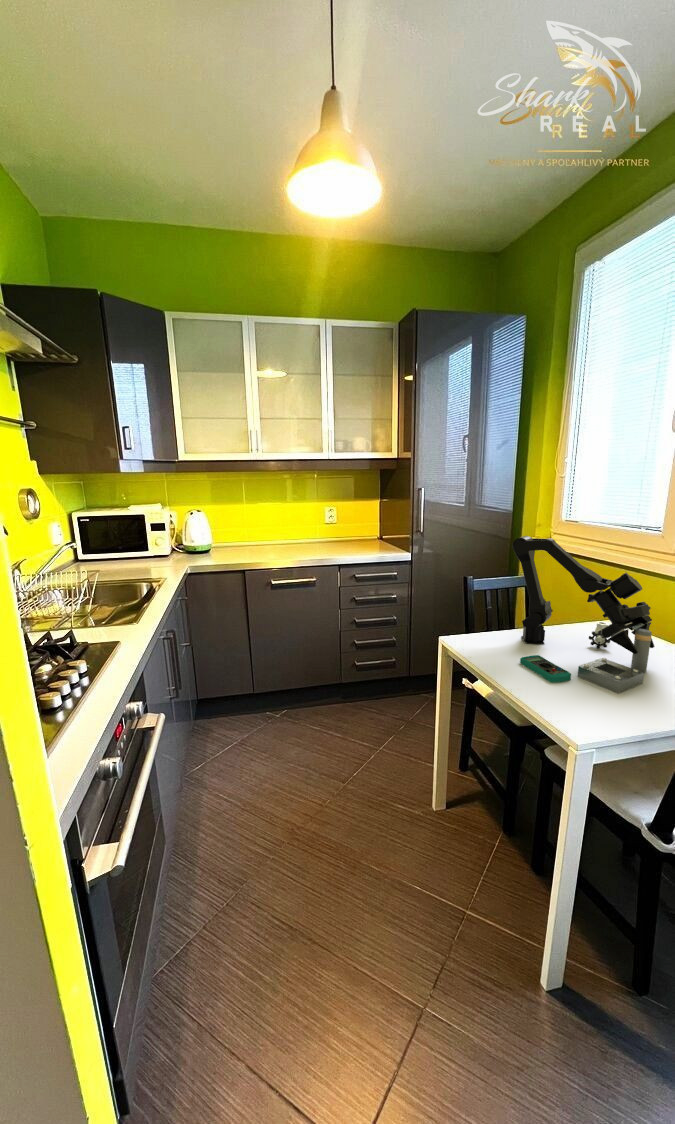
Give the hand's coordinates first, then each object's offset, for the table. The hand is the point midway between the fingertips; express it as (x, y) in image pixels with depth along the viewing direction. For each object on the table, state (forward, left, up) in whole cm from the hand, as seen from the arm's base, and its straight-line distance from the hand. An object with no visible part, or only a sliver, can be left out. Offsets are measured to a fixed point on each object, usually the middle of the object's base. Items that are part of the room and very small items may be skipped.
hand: (644, 650), depth 130 cm
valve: (-2, +24, -7) cm, 25 cm away
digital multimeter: (-30, -3, -8) cm, 31 cm away
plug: (-1, +1, -7) cm, 7 cm away
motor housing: (-13, -7, -7) cm, 16 cm away
